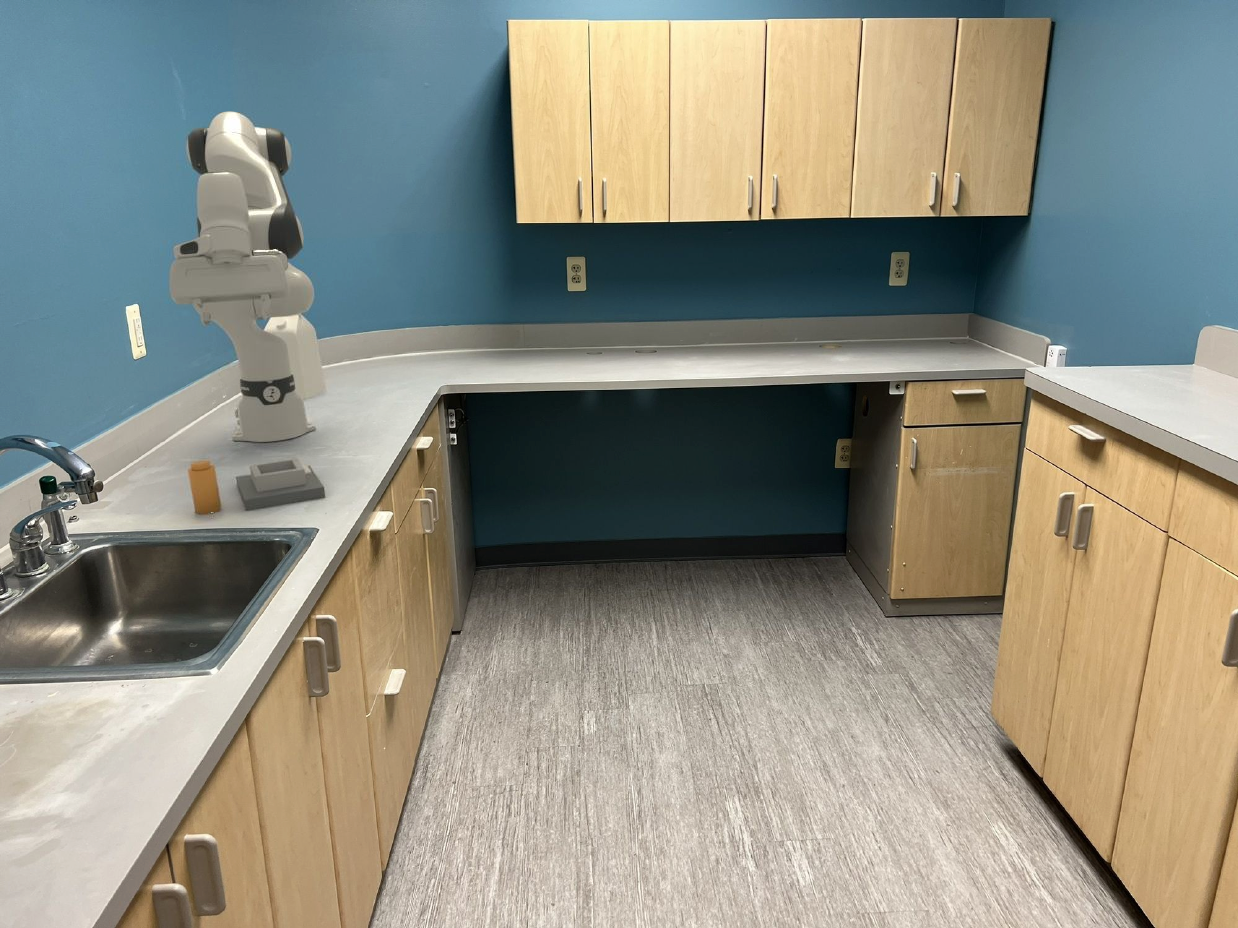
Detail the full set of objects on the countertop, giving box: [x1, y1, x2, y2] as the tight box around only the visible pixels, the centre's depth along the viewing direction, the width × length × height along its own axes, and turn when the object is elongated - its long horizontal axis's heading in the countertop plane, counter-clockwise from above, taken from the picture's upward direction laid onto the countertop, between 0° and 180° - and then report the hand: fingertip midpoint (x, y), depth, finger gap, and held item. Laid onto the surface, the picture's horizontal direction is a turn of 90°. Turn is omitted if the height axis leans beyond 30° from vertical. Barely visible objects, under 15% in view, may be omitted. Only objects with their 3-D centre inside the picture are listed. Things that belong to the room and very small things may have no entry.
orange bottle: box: [187, 460, 222, 515], centre depth 157 cm, size 4×4×9 cm
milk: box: [263, 313, 327, 401], centre depth 248 cm, size 12×12×26 cm
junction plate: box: [235, 457, 326, 511], centre depth 166 cm, size 16×14×5 cm
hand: (234, 321), depth 158 cm, fingers open, 8 cm apart
